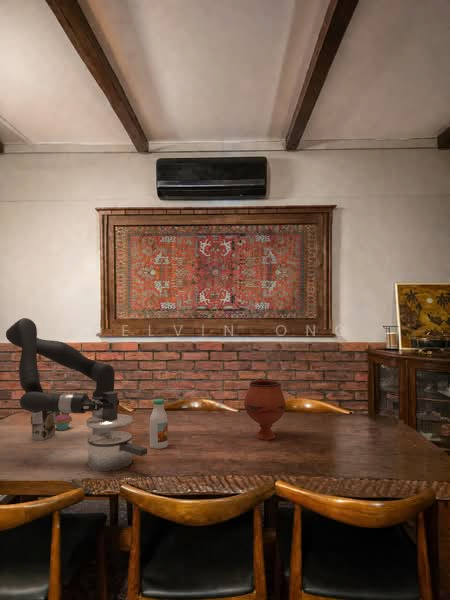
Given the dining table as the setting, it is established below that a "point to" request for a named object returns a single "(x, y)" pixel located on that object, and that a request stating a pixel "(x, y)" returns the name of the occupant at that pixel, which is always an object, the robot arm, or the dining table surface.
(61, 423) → the cupcake
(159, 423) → the milk bottle
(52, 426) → the coffee box
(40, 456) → the dining table surface
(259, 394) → the goblet
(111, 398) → the cooker lid
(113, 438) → the cooker pot
